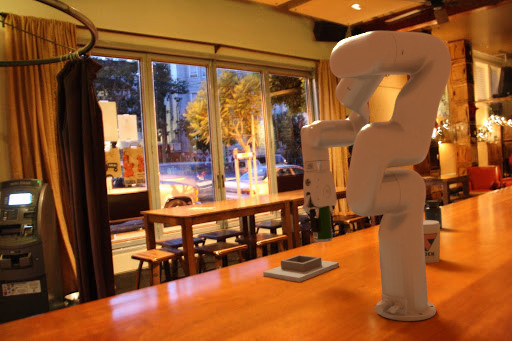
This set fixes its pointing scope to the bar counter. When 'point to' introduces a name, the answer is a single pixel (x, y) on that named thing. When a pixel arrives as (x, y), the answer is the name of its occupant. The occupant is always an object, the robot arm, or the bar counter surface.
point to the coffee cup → (431, 240)
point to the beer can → (324, 225)
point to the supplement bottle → (433, 212)
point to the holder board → (300, 268)
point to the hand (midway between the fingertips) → (322, 230)
